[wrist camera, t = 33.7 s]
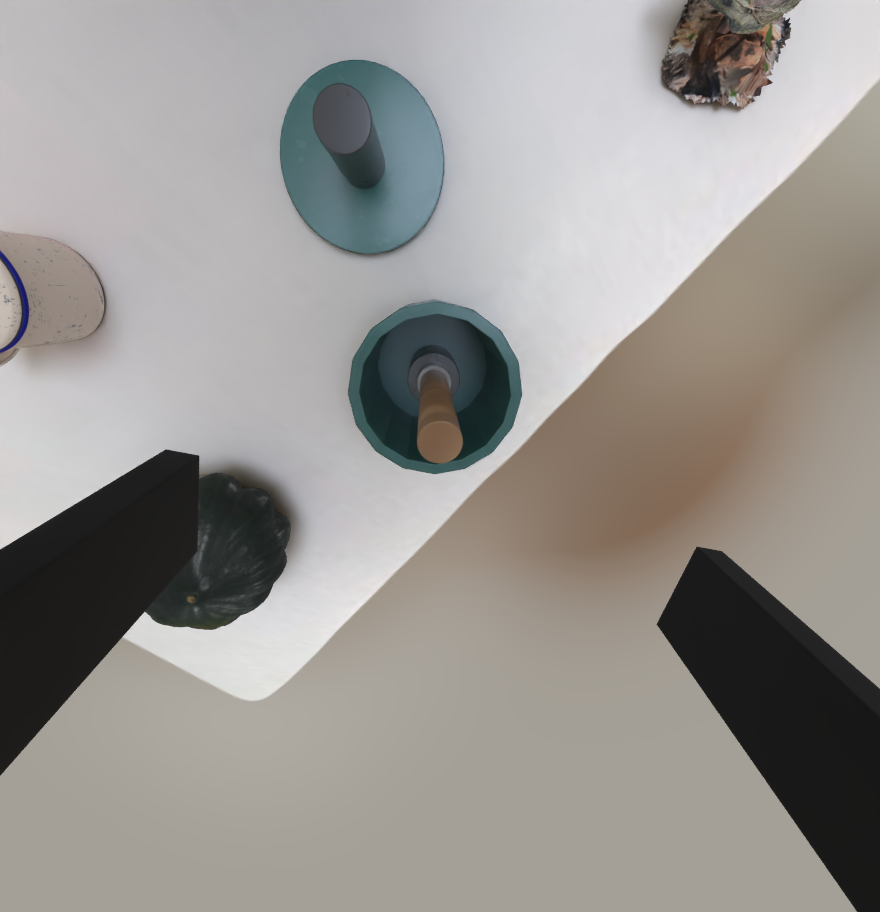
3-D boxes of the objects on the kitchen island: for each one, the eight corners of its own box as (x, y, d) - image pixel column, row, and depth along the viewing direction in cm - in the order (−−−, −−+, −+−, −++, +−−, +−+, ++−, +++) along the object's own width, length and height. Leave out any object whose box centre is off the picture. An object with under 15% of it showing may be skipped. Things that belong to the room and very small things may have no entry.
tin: (362, 411, 42) (338, 456, 31) (382, 287, 38) (363, 283, 27) (476, 434, 44) (495, 486, 32) (507, 316, 40) (542, 326, 28)
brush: (406, 385, 41) (386, 475, 20) (414, 340, 39) (403, 388, 19) (449, 394, 41) (473, 491, 21) (459, 350, 40) (496, 408, 19)
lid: (278, 234, 36) (226, 212, 27) (292, 45, 32) (235, -61, 22) (425, 270, 38) (426, 262, 28) (459, 94, 33) (473, 13, 24)
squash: (98, 579, 42) (129, 697, 33) (115, 445, 38) (156, 539, 29) (242, 556, 53) (296, 641, 44) (268, 449, 48) (333, 518, 39)
